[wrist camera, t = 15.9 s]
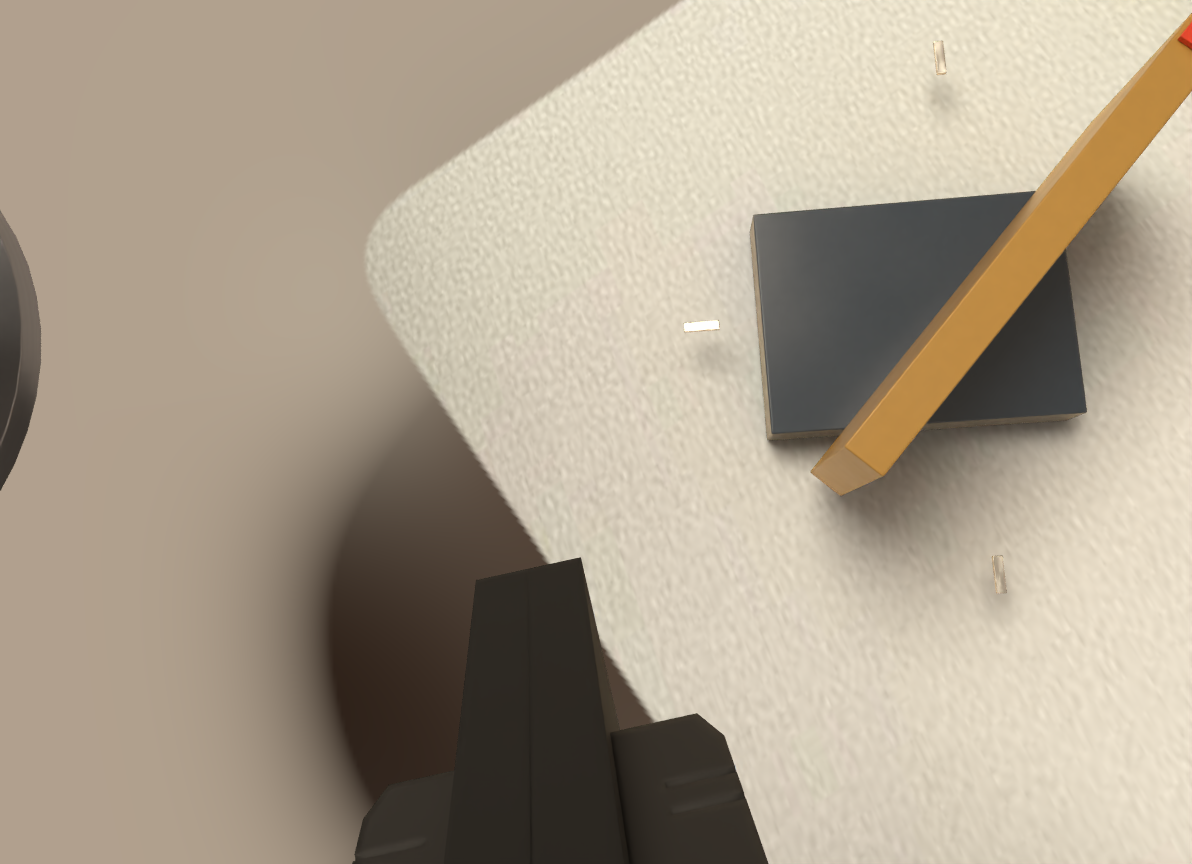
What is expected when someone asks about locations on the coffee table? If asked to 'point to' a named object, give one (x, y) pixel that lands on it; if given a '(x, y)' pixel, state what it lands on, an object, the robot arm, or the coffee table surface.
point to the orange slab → (1010, 269)
